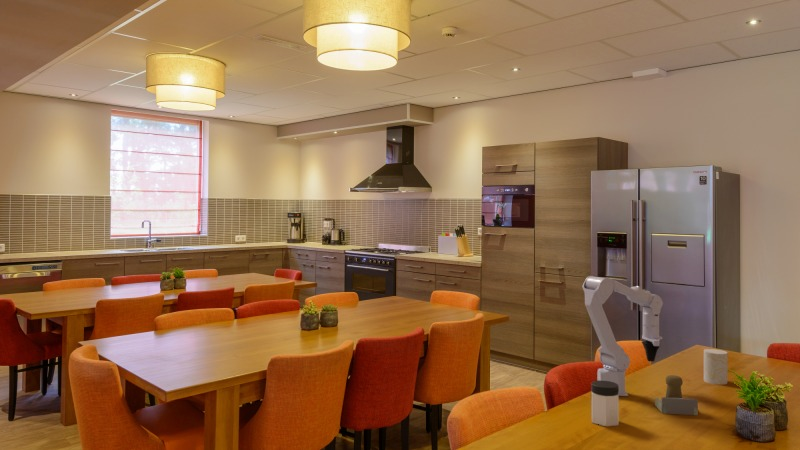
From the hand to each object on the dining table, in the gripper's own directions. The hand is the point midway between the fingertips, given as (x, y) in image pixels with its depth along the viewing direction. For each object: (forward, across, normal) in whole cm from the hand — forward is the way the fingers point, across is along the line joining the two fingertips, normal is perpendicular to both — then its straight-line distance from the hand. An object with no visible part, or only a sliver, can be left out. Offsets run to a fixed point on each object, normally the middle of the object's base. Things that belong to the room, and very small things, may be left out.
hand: (650, 360), depth 208 cm
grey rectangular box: (+10, -24, -1) cm, 26 cm away
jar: (+11, -39, +25) cm, 48 cm away
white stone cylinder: (+11, +13, -28) cm, 33 cm away
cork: (+11, -22, -1) cm, 25 cm away
